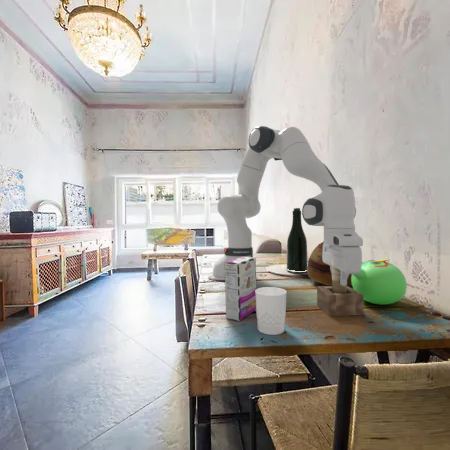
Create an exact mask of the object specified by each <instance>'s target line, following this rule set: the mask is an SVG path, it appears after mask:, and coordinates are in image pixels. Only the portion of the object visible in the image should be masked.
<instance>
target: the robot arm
mask: <svg viewBox="0 0 450 450" xmlns="http://www.w3.org/2000/svg"><path fill="white" fill-rule="evenodd" d="M272 159H273V160H274V161H282V163H283V165H284V167H285V169H286V171H288V172H289V174H291V175H293V176H296V177H299V178H302V179H305V180H307V181H311V182H312V183H314V184H316V185H317V186H318V187H319V189H320V191H321V192H320V193H319V194H317V195H315V196H313V197H310V198H308V199H306V201H305V202H304V203H303V206H302V207H301V208H302V209H301V217H302V219H303V220H304V222H305V223H306V225H309V226H313V227H323V241H324V243H323V252H322V260H323V262H324V263H326V264H328V265H330V270H331V273H332V260H334V267H335V268H336V269H338V270H340V274H341V276H340V278H339V284H341V285H347V279H348V276H349V274H359V273H360V271H361V265H362V262H363V252H362V248H361V247H363V246H364V240H363V237H361V236H360V235H359V234H358V233H357V232H356V226H355V217H356V214H357V208H356V200H355V193H354V189H353V188H352V187H351V186H350V185H345V184H344V185H343V184H339V182H338V180H336V177H334V174H333V173H332V172H331V170H330V169H329V168H328V166H327V165H326V164H325V163H324V162H322V160H320V159H319V157H318V156H317V155H316V153H315V152H314V151H313V149H312V148H311V145H310V143H309V141H308V139H307V138H306V136H305V135H304V134H303V132H302V131H301V129H299V128H298V127H296V126H289V127H286V128H284V129H282V130H278V129H275V128H270V127H269V126H267V125H266V126H265V125H259V126H255V127H254V128H253V129H252V130H251V132H250V133H249V136H248V148H247V150H246V152H245V154H244V156H243V159H242V162H241V165H240V168H239V170H238V173H237V176H236V182H237V185H238V187H239V188H238V189H239V190H238V194H228V195H225V196H222V197H220V198H219V200H218V202H217V211H218V214H220V216H221V217H222V218H223V220H224V222H225V225H226V227H227V234H228V235H227V236H228V237H227V238H228V247H224V248H223V252H224V255H223V256H222V257H221V258H219V259H218V260H217V261H216V262H215V263H214V265H213V269H212V272H210V273H208V279H209V280H211V281H216V280H217V281H225V262H228V261H231V260H234V259H237V258H241V257H254V248H253V246H252V245H253V243H252V238H253V237H252V234H253V233H252V230H251V228H250V227H249V226H248V224H247V221H246V219H250V218H253V217H256V216H258V214H260V211H261V203H260V201H259V193H260V192H259V191H260V186H261V182H262V181H263V177H264V174H265V171H266V168H267V164H268V162H270V160H272ZM347 286H348V285H347Z"/></svg>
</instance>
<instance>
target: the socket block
mask: <svg viewBox="0 0 450 450" xmlns="http://www.w3.org/2000/svg"><path fill="white" fill-rule="evenodd" d="M316 305H317V306H318V307H319V308H320V309H321V310H322V312H324V313H325V314H326V315H327V316H328V317H350V316H349V315H363V316H364V300H363V295H362V294H360V293H359V292H357V291H355V290H354V289H353V287H350V286H349V285H347V286H346V293H332V286H328V285H321V286H320V285H319V286H318V285H317V286H316Z"/></svg>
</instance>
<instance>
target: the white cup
mask: <svg viewBox="0 0 450 450" xmlns="http://www.w3.org/2000/svg"><path fill="white" fill-rule="evenodd" d="M287 293H288V292H287V290H286V289H284V288H282V287H275V286H264V287H263V286H262V287H258V288H256V290H255V296H256V310H255V311H256V312H255V313H256V319H257V330H258V331H259V332H260V333H261V334H264V335H269V336H276V335H277V336H278V335H280V334H283V333H284V332H285V321H286V310H287Z"/></svg>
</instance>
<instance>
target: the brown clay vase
mask: <svg viewBox="0 0 450 450" xmlns="http://www.w3.org/2000/svg"><path fill="white" fill-rule="evenodd" d="M323 243H324V240H323V241H322V242H320V243H318V245H316V247H315V248H314V249H313V250H312V252H311V253H310V256H309V258H308V260H307V265H308V268H307V275H308V278H309V279H310V280H312V281H314V282H315V283H316V282H317V283H319V284H322V285H324V286H332V273H331V270H330V265H328V264H326V263H324V262H323V260H322V252H323ZM351 276H352V274H349V276H348V279H347V285H346V286H350V285H351V286H352V282H351Z"/></svg>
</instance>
